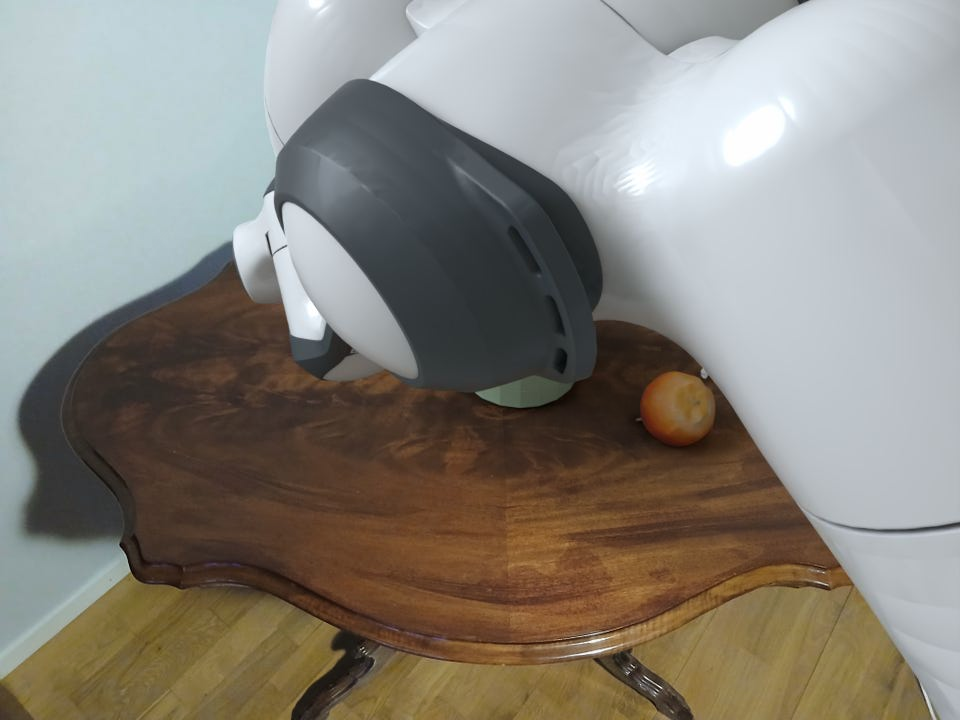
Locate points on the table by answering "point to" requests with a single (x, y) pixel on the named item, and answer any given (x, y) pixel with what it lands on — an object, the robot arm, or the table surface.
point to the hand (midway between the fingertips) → (536, 212)
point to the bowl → (526, 392)
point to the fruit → (677, 409)
